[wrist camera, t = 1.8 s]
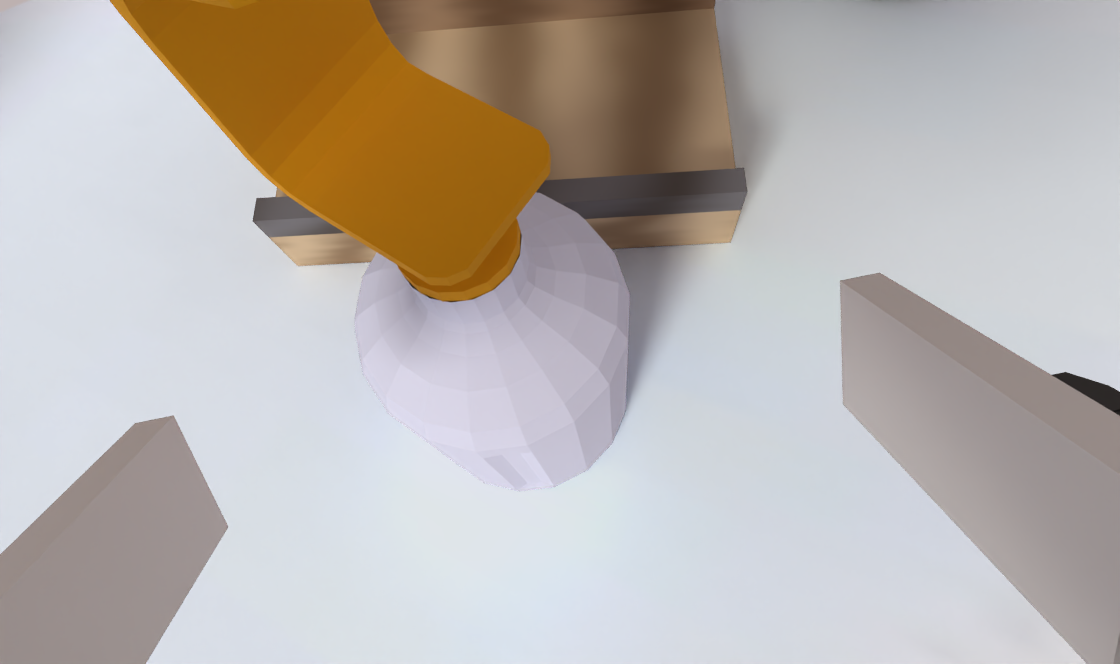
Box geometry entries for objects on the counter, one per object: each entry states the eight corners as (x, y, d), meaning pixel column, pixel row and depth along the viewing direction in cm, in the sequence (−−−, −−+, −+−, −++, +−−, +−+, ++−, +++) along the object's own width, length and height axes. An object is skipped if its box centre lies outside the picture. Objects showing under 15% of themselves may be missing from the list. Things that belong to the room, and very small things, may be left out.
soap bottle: (556, 533, 28) (286, 317, 5) (394, 420, 31) (-272, -65, 8) (663, 364, 30) (800, -297, 8) (505, 272, 33) (245, -444, 10)
